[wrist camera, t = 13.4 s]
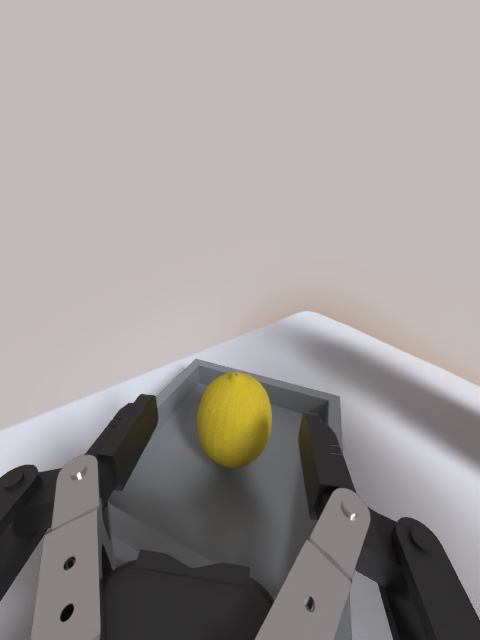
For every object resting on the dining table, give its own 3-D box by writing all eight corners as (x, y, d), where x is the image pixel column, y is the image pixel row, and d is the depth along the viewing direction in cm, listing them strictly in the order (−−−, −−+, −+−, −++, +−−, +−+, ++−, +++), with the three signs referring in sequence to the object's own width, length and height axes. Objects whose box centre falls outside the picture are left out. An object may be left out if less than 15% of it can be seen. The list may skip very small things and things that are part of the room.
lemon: (212, 423, 22) (212, 349, 19) (270, 437, 20) (280, 360, 17) (185, 481, 16) (180, 391, 14) (260, 504, 15) (273, 411, 12)
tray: (332, 423, 23) (339, 396, 22) (333, 707, 10) (354, 683, 8) (196, 382, 28) (195, 358, 27) (66, 531, 14) (51, 498, 13)
